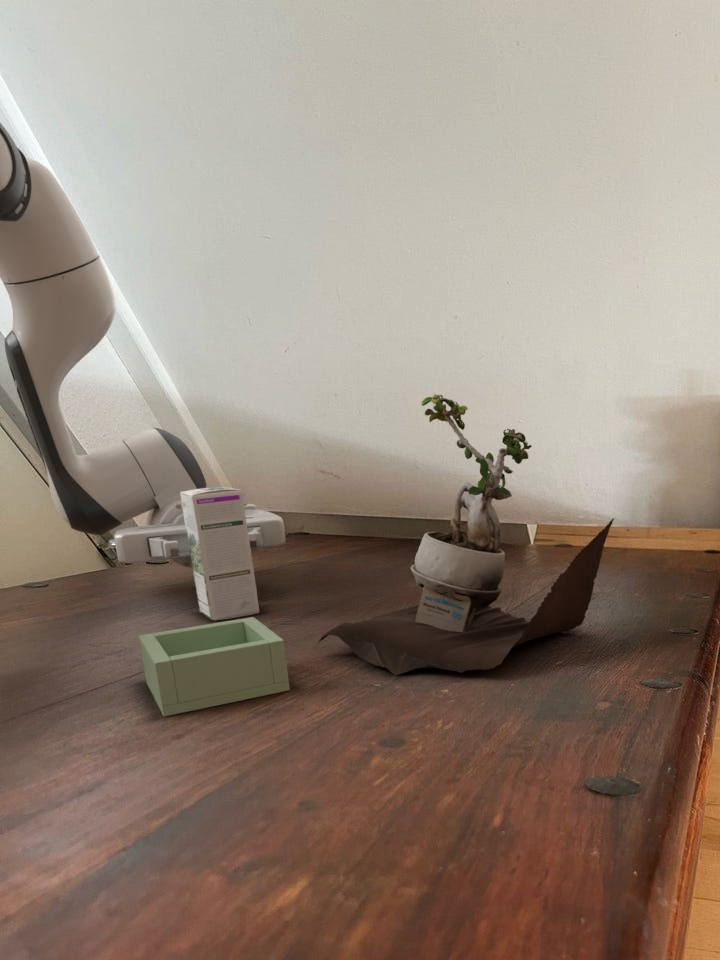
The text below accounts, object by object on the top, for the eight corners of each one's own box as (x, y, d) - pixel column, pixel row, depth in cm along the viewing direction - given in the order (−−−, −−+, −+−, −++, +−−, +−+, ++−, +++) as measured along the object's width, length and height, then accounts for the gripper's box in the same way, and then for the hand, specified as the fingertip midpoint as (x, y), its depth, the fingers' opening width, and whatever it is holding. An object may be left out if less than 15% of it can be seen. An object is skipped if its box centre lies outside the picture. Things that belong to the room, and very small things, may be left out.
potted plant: (430, 631, 88) (488, 410, 81) (572, 696, 79) (650, 454, 72) (303, 647, 71) (363, 371, 65) (464, 732, 62) (552, 421, 56)
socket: (163, 716, 59) (154, 663, 57) (146, 683, 67) (138, 635, 66) (290, 690, 63) (284, 640, 62) (259, 661, 71) (253, 616, 70)
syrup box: (261, 613, 90) (245, 487, 86) (210, 622, 87) (191, 492, 83) (245, 605, 95) (229, 485, 91) (197, 613, 92) (178, 490, 88)
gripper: (102, 517, 97) (113, 527, 85) (265, 502, 106) (294, 509, 95) (111, 566, 98) (123, 583, 87) (270, 548, 108) (300, 560, 96)
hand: (214, 544), depth 91 cm, fingers open, 8 cm apart
